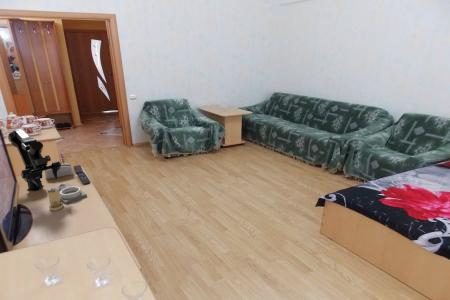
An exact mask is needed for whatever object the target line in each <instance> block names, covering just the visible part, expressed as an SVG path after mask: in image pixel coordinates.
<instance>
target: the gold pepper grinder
mask: <svg viewBox="0 0 450 300" xmlns="http://www.w3.org/2000/svg"><path fill="white" fill-rule="evenodd" d="M51 188H52V189H51ZM51 188H50V189H51V190H50V191H48V190H47V197H48V201H49V207H48V210H49V211H50V212H58V211H60V210H62V209H63V208H64V202H62V201H61V198H60V193H59V190H58V189H55V188H54V187H51Z"/></svg>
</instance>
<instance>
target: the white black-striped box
mask: <svg viewBox="0 0 450 300" xmlns="http://www.w3.org/2000/svg"><path fill="white" fill-rule="evenodd" d="M52 171H53V170H52V169H48V170H45V172H44V175H45V180H49V179H55V177H54V175H53V172H52ZM69 175H74V169H73V168H72V165H71V164H70V163H61V167H60V169H59V170H58V171H57V178H60V177H65V176H69Z"/></svg>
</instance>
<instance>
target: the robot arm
mask: <svg viewBox="0 0 450 300" xmlns="http://www.w3.org/2000/svg"><path fill="white" fill-rule="evenodd" d="M7 139H8V142H10V143H11V146H13V147H14V148H16V149H17V151H18V154H19V156H20V157H21V161H22V162H23V165H24V169H22V170H21V171H20V177H21V178H22V180H24V181H25V182H26V183H27V187H28V188H27V189H26V190H27V191H34V192H35V191H38V190H40V189H41V188H43V187H44V184H43V183H42V180H41V179H43V172H44V171H45V170H48V169H52V170H53V171H52V172H53V175H54V177H55V178H54V180H55V181H58V177H57V171H58V170H59V169H60V167H61V164H62V163H61V162H60V161H54V162H51V160H52V158H51V156H50V155H45V156H44V157H43V155H42V152H43V147H44V144H43V142H41V141H39V140H37V139H36V138H34V137H31V136H29V135H28V134H27V133H26V132H25V129H24V128H19V129H18V128H17V129H13V130H12V132H9V134H8V135H7ZM49 162H51V164H50V165H48V163H49Z"/></svg>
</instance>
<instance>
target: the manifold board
mask: <svg viewBox="0 0 450 300" xmlns="http://www.w3.org/2000/svg"><path fill="white" fill-rule="evenodd" d="M52 188H55V189H58V190H59V193H60V198H61V203H63V204H66V205H68V204H70V202H71V203H72V202H76V201H79V200H81V199H84V198H86V197H87V196H88V195H87V193H86V192H84V191H82V190H81V187H79V186H73V185H72V184H71V183H69V182H67V183H59V184H58V186H55V187H51V188H48V189H47V192H48V191H50V190H51V189H52ZM75 200H76V201H75Z"/></svg>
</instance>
